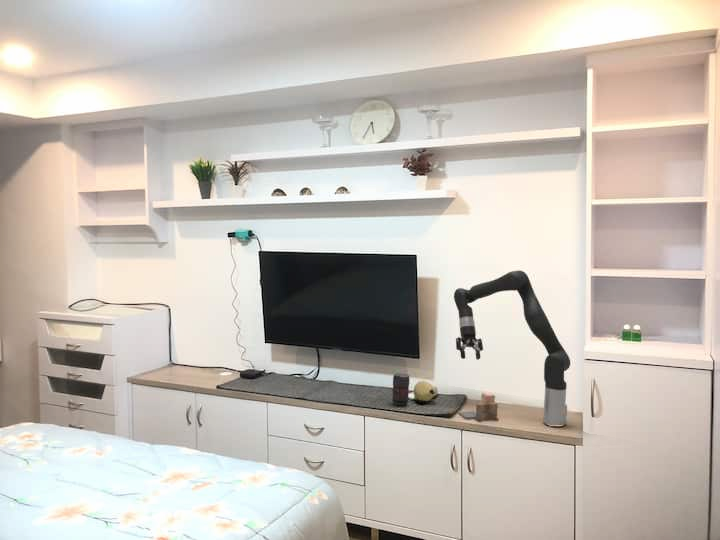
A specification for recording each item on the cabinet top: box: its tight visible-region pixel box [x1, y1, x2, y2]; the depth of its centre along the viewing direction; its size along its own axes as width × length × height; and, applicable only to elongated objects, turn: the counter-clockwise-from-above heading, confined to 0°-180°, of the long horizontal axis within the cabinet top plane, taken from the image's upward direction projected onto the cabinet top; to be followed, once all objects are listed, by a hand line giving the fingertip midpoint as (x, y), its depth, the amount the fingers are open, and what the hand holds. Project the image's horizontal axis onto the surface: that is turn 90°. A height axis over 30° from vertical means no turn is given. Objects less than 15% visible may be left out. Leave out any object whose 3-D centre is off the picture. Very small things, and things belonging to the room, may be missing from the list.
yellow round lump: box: [413, 380, 439, 402], centre depth 298 cm, size 10×12×11 cm
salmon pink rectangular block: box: [480, 392, 496, 404], centre depth 282 cm, size 4×4×10 cm
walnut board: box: [474, 402, 499, 423], centre depth 274 cm, size 10×4×8 cm, turn 106°
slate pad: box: [457, 410, 476, 420], centre depth 279 cm, size 8×8×1 cm
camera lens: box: [391, 372, 410, 408], centre depth 292 cm, size 8×8×15 cm
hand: (471, 358), depth 292 cm, fingers open, 8 cm apart
